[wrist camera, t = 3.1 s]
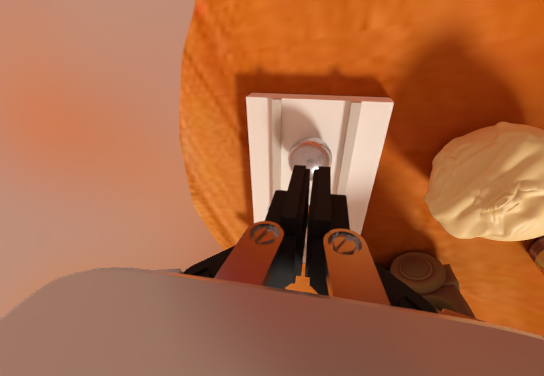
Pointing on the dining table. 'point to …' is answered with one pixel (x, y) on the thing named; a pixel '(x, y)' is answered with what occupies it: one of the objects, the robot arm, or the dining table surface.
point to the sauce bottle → (538, 253)
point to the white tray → (326, 126)
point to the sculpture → (490, 184)
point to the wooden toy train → (430, 281)
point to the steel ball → (310, 154)
